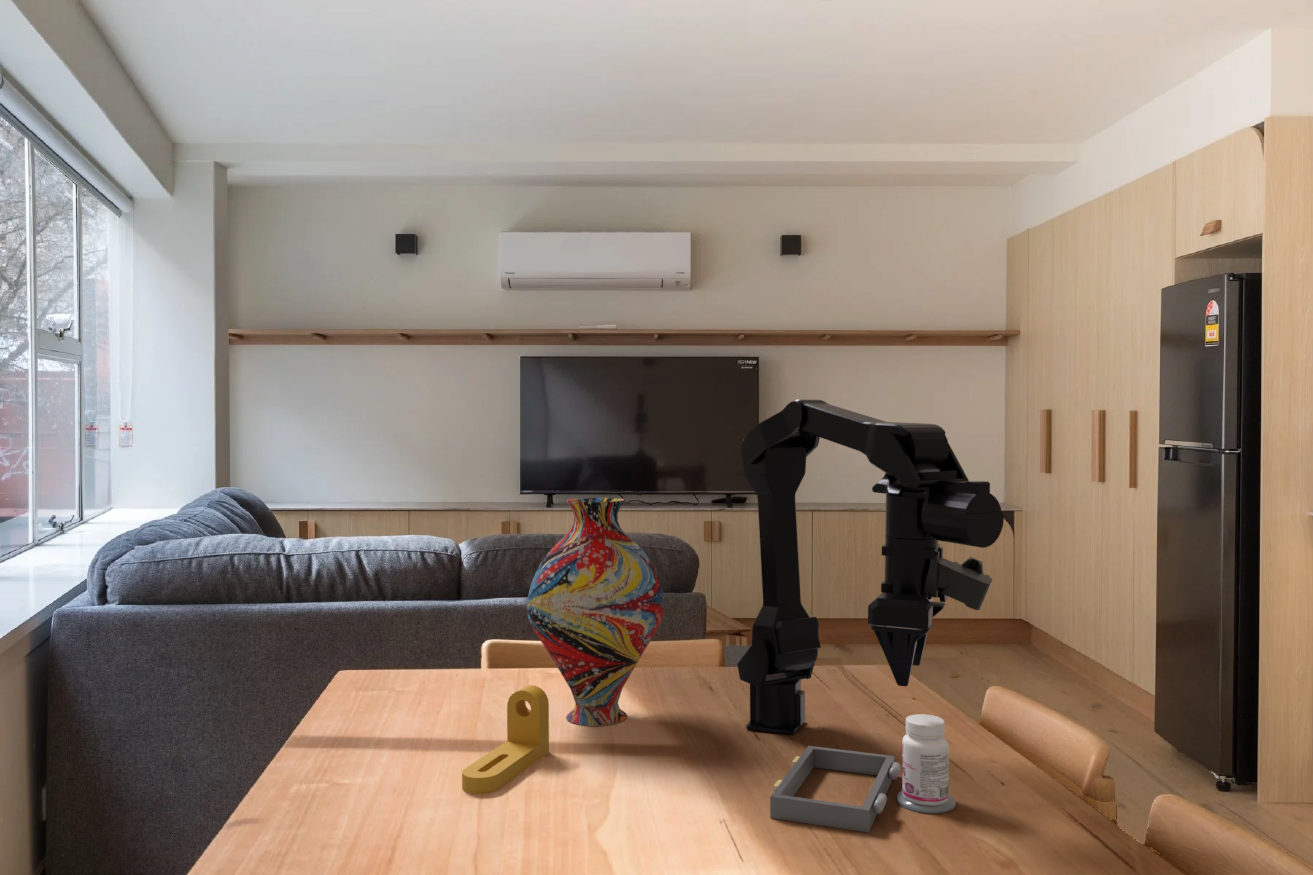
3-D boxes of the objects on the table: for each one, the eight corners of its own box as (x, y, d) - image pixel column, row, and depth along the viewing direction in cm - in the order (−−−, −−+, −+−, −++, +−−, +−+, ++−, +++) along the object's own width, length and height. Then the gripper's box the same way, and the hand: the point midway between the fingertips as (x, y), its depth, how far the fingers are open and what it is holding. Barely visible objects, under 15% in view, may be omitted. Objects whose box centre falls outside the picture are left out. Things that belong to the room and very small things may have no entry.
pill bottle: (895, 790, 106) (895, 713, 106) (938, 789, 107) (938, 712, 107) (911, 807, 101) (911, 726, 101) (955, 805, 102) (955, 725, 102)
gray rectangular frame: (764, 816, 100) (764, 795, 100) (803, 763, 116) (803, 744, 116) (879, 833, 96) (879, 811, 96) (903, 776, 112) (903, 756, 112)
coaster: (893, 808, 102) (893, 804, 102) (901, 788, 108) (901, 785, 108) (952, 816, 100) (952, 812, 100) (957, 796, 106) (957, 792, 106)
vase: (501, 729, 130) (500, 503, 129) (567, 692, 147) (566, 493, 147) (632, 745, 123) (631, 507, 122) (684, 705, 140) (683, 496, 140)
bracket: (517, 749, 122) (516, 683, 122) (548, 753, 121) (548, 686, 120) (454, 792, 108) (454, 717, 108) (490, 797, 106) (489, 721, 106)
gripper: (980, 552, 97) (977, 707, 98) (993, 530, 115) (990, 663, 115) (868, 545, 102) (865, 694, 102) (896, 525, 119) (894, 652, 119)
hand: (909, 674), depth 110 cm, fingers open, 9 cm apart
